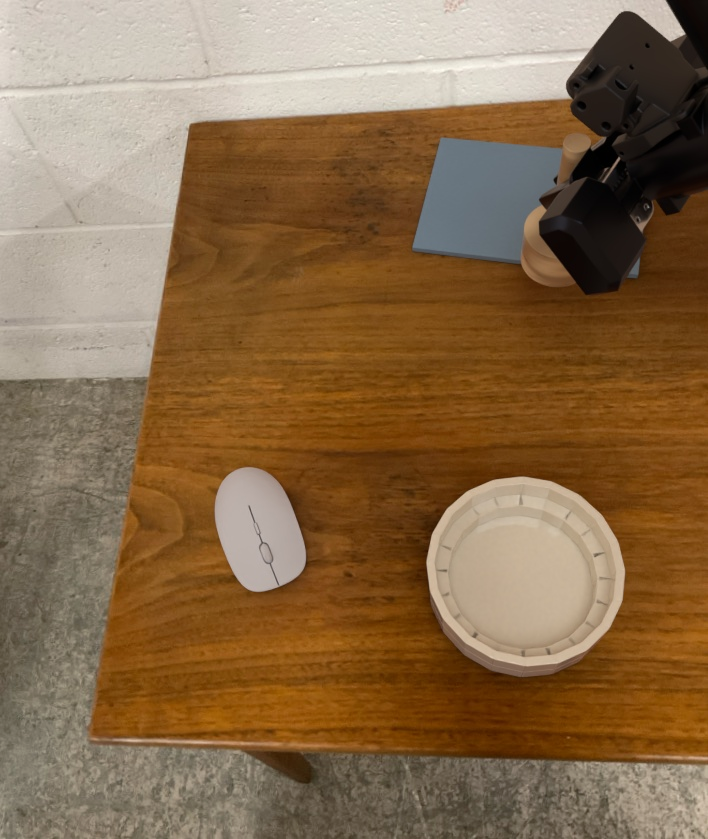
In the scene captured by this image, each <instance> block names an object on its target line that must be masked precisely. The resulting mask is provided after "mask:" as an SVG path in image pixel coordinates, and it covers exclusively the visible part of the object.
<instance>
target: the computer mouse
mask: <svg viewBox="0 0 708 839" xmlns="http://www.w3.org/2000/svg"><path fill="white" fill-rule="evenodd" d="M214 520H215V526H216V530H217V534H218V538H219V541H220V544H221V547H222V549H223V553H224V555H225V557H226V560H227V562H228V564H229V567H230V568H231V570H232V573H233V574H234V576H235V577H236V579H237V581H238V582H239V583H240V584H241V585H242V586H243V587H244V588H245V589H247V590H249V591H250V592H254V593H261V592H268V591H272V590H274V589H277V588H280V587H283V586H285V585H287V584H288V583H290V582H292V581H293V580H295V579H297V578H298V577H299V576H300V575H301V574H302V572H304V569H305V567H306V563H307V550H306V546H305V540H304V538H303V537H304V536H303V534H302V530H301V528H300V524H299V522H298V519H297V517H296V514H295V511H294V509H293V506H292V503H291V502H290V499H289V497H288V495H287V493H286V491H285V489H284V488H283V486H282V485H281V484H280V482H279V481H278V480H277V479H276V478H275V477H274V476H273V475H272V474H270V473H269V472H267V471H265V470H264V469H261V468H258V467H254V466H253V467H252V466H245V467H241V468H237V469H235V470H233V471H232V472H230V473H229V474H227V475H226V477H225V478H224V479H223V480H222V481H221V484H219V487H218V490H217V492H216V496H215V501H214Z"/></svg>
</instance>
